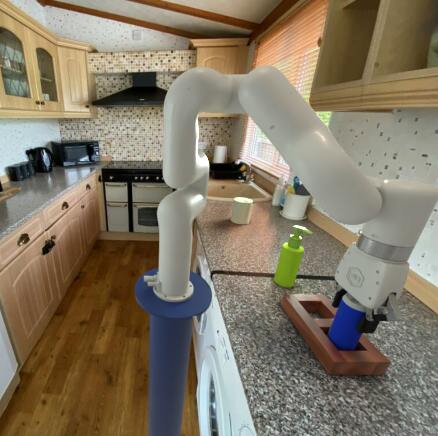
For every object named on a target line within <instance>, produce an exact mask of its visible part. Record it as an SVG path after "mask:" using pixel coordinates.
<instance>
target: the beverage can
mask: <svg viewBox="0 0 438 436" xmlns="http://www.w3.org/2000/svg"><path fill="white" fill-rule="evenodd" d="M363 316H366V307H365V306H363V305H362V304H361V303H360V302H359V301H357V300H356V299H355V298H354V297H353V296H352V295H351V294H349V293H346V294H345V295H344V296H343V297H342V300H341V302H340V305H339V307H338V309H337V312H336V314H335V317H334V319H333V322H332V324H331V327H330V329H329V332H328V334H327V337H328V338H329V340H330V341H331V342H332V343H333V345H334V346H335V347H336V348H337V349H338V351H354V350H355V348H356V346H357V343H358V341H359V339H360V337H361V335H362V333H358V332H357V331H356V329H357V326H358V324H359V322H360V320H361V318H362V317H363Z"/></svg>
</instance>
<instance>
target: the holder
mask: <svg viewBox="0 0 438 436" xmlns="http://www.w3.org/2000/svg"><path fill="white" fill-rule="evenodd" d="M332 303H333V301H331V300H330V299H329V298H328V297H327V295H325V294H312V293H311V294H310V293H308V294H306V293H305V294H303V293H302V294H301V293H299V294H298V293H297V294H296V293H295V294H294V293H293V294H292V293H286V294H285V293H283V295H282V298H281V301H280V307H281V308H282V310H283V311H284V313H285V314H286V315H287V317H288V318H289V320H290V321H291V322H292V324H293V326H294V327H295V328H296V330H297V332H298V333H299V334H300V336H301V337H302V338H303V340H304V341H305V342H306V344H307V345H308V347H309V348H310V350H311V352H313V354H314V355H315V357H316V358H317V359H318V361H319V362H320V364H321V365H322V366H323V368H324V370H325V371H326V372H327V374H328V375H329V376H384V375H385V374H386V371H387V370H388V368H389V367H390V365H391V363H392V361H390V359H389V358H388V357H386V355H385V354H384V353H382V351H381V350H380V349H379V348H378V347H376V346H375V344H374V343H373V342H372V341H371V340H370V339H369V338H368V337H367V336H366V334H365V333H362V335H361V337H360V339H359V341H358V343H357V346H356V348H355V350H354V351H338V349H337V348H336V347H335V346H334V345H333V343H332V342H331V341H330V340H329V338H328V337H327V334H328V332H329V329H330V327H331V324H332V322H333V319H334V317H335V314H336V312H337V309H338V308H334V307H333V306H332ZM310 313H317V314H318V315H319V317H321V318H313V317H312V316H311V315H310Z"/></svg>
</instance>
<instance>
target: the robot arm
mask: <svg viewBox="0 0 438 436" xmlns="http://www.w3.org/2000/svg"><path fill="white" fill-rule="evenodd" d="M162 111H163V113H162V115H163V117H162V119H163V140H162V177H163V181H164V183H165V184H166V186H168V187H169V188H172V189H175V190H174V191H173V192H171V193H169V194H168V195H166V196H165V197H163V198H162V199H161V201H160V202H159V203H158V206H157V210H156V218H157V223H158V231H159V232H158V236H159V241H158V243H159V244H158V246H159V248H158V268H159V272H157V275H154V276H144V282H148V286H153V290H154V293H155V294H156V295H157V296H158V297H159V298H161V299H162V300H165V301H168V302H182V301H185V300H187V299H189V298H190V297H191V296H192V294H193V285H192V283H191V282H190V281H189V276H190V271H191V265H192V264H191V263H192V255H193V254H192V253H193V230H192V224H193V221H194V220H195V219H196V218H197V217H198V216H199V215H200V214H202V212H203V211H204V209H205V207H206V204H207V199H208V188H209V177H210V163H209V160H208V157H207V155H206V154H205V152H204V151H203V150H201V149H199V138H200V137H199V136H200V129H199V121H198V119H199V115H200V114H202V113H205V114H206V113H207V114H209V113H210V114H228V115H229V114H230V115H248V117H250V119H251V120H252V122H253V123H254V124H255V125H256V126H257V127H258V128H259V129H260V131H261V133H263V135H264V136H265V137H266V138H267V140H268V141H269V142H270V143H271V145H272V146H273V147H274V148H275V149H276V150H277V152H278V153H279V155H280V156H281V158H282V160H283V161H284V162H285V163H286V165H287V166H288V167H289V168H290V170H291V171H292V172H293V173H294V175H295V176H296V177H297V178H298V180H299V181H300V183H301V184H302V186H303V187H304V188H305V189H306V191H307V192H308V194H310V196H312V198H313V200H314V201H315V202H316V203H317V204H318V206H319V207H320V208H321V209H322V210H323V211H324V213H325V214H326V215H327V216H328V217H329V218H331V219H332V220H333V221H335V222H337V223H339V224H341V225H342V224H343V225H348V226H358V225H362V227H361V229H359V230H358V231H357V234H358V237H357V240H356V241H354V242H352V243H351V244H350V245H349V247H348V248H347V249H346V250H345V253H344V254H343V256H342V258H341V260H340V262H339V264H338V266H335V267H333V274H334V282H335V287H334V290H335V292H336V293H335V295H334V298H333V300H332V306H333V307H334V308H338V307H339V305H340V302H341V300H342V297H343V296H344V295H345V294H346V293H349V294H351V295H352V296H353V297H354V298H355V299H356V300H357V301H359V302H360V303H361V304H362V305H363V306H365V307H366V316H363V317H362V318H361V320H360V322H359V324H358V326H357V329H356V331H357V332H358V333H363V334H364V335H366V334H369V335H371V334H374V333H375V332H376V330H377V328H378V326H379V324H380V323H381V322H403V321H404V316H403V313H402V311H401V308H400V305H399V300H400V298H401V297H402V293H403V291H404V288H405V285H406V283H407V279H408V275H409V271H410V262H409V259H410V257H411V256H412V253H413V251H414V249H415V247H416V244H418V242H419V239H420V238H421V235H422V233H423V231H424V229H425V227H426V225H427V223H428V221H429V219H430V217H431V215H432V213H433V211H434V210H435V207H436V205H437V203H438V187H437V186H435V185H433V184H430V183H427V182H424V181H423V182H422V181H416V180H410V179H399V178H398V179H396V178H395V179H387V178H382V177H376V176H371V175H367V174H365V173H363V171H362V170H361V169H360V168H359V167H358V165H357V164H356V163H355V162H354V160H352V158H351V157H350V156H349V155H348V153H347V152H346V150H344V148H343V147H342V146H341V145H340V143H339V142H338V141H337V140H336V138H335V137H334V135H333V133H332V132H331V130H330V128H329V127H328V125H327V123H325V122H324V119H322V118H321V116H320V115H319V114H318V113H317V112H316V111H315V110H314V108H312V106H311V105H310V104H309V103H308V102H307V100H306V99H305V98H304V96H303V95H302V94H301V93H300V92H299V91H298V90H297V88H296V87H295V86H294V85H293V83H291V81H290V80H289V79H288V78H287V76H285V74H284V73H283V72H282V71H281V70H280V69H279V68H277V67H275V66H273V65H267V64H265V65H260V66H257V67H255V68H254V69H252V70H251V71H249V72H248V73H244V74H241V73H240V74H237V73H235V74H223V73H221V72H220V71H217V70H216V69H213V68H211V67H207V66H196V67H193V68H190V69H187V70H186V71H184V72H183V73H181V74H180V75H179V76H178V77H176V78H175V80H173V82H172V83H171V84H170V86H169V88H168V89H167V92H166V95H165V97H164V101H163V110H162ZM375 310H376V313H375Z"/></svg>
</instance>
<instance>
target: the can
mask: <svg viewBox="0 0 438 436" xmlns="http://www.w3.org/2000/svg"><path fill="white" fill-rule="evenodd" d="M253 202H254V200H253V199H252V198H249V197H245V196H244V197H243V196H238V197H237V196H236V197H234V198H233V203H232V209H231V214H230V221H231V222H232V223H234V224H237V225H248V224H249V223H250V218H251V212H252V207H253Z"/></svg>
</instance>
